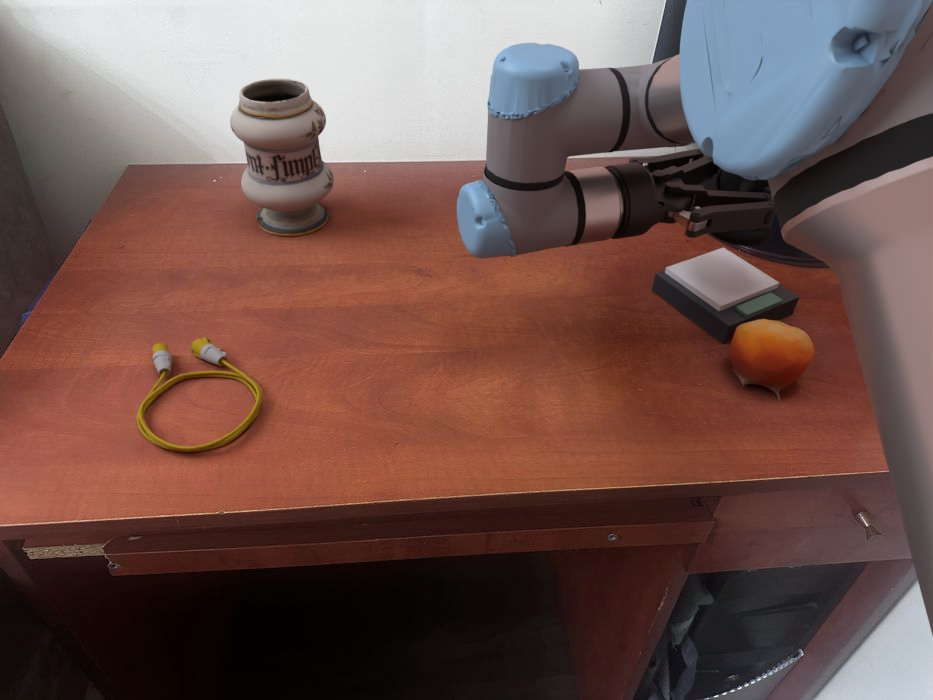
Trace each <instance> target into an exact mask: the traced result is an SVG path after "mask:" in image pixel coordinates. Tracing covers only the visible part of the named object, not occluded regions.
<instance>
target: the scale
mask: <svg viewBox="0 0 933 700" xmlns="http://www.w3.org/2000/svg"><path fill="white" fill-rule="evenodd" d="M651 291H652V292H653V293H654V294H655V295H657V296H658V297H660V298H661V299H662V300H664V301H665V302H667V303H668V304H669V305H671V306H672V307H673V308H675V309H676V310H677V311H679V313H681V314H682V315H684V316H685V317H687V318H688V319H689V320H690V321H692V322H693V323H695V324H696V325H697V326H698V327H700V328H701V329H703V330H704V331H705V332H707V333H708V334H709V335H711V336H712V337H713V338H715V339H716V340H718V342H720V343H722V344H725V343H728V342H730V341H731V342H732V339H733V336H734V334H735V331H736V328H737V327H738V326H739V325H741V324H744V323H747V322H751V321H755V320H759V319H767V320H774V321H780V320H782V319H785V318H787V317H789V316H791V315H793V314H794V313H795V309H796V307H797V305H798V302H799V300H800V297H801V296H800V295H798V294H797V293H795V292H793V291H792V290H790V289H788V288H787V287H785V286H784V285H782V284H781V283H780V282H779V281H778V280H776V279H774V278H773V277H772V276H770V275H769V274H767V273H766V272H763V271H762V270H760V268H757V267H755V266H754V265H752V264H751V263H749V262H748V261H746V260H745V259H743V258H741V257H740V256H738V255H736V254H735V253H734V252H733V251H732V252H731V251H730V250H729V249H727V248H725V247H723V246H722V247H720V248H718V249H714V250H712V251H709V252H706V253H703V254H701V255H697V256H695V257H692V258H689V259H686V260H683V261H680V262H677V263H675V264H672V265H669V266H666V267H665V269H663V270H661V271H658V272H655V275H654V279H653V281H652V286H651Z"/></svg>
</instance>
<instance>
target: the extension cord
mask: <svg viewBox="0 0 933 700" xmlns="http://www.w3.org/2000/svg"><path fill="white" fill-rule="evenodd" d="M151 349H152V363H153V365H154V368H155V369H156V371H157V374H158V375H159V378H158V380H157V382H155V384H154V386H153V387H152V389H151V390H150V391H149V393H148V395H147V396H145V399H143V400H142V402H141V404H140V406H139V409H138V410H137V414H136V424H137V428H138V430H139V432H140V433H141V435H142V436H143V437H144V439H146V440H148V441H149V442H150V443H152V444H153V445H155V446H157V447H159V448H162V449H165V450H170V451H175V452H185V453H193V452H202V451H208V450H212V449H217V448H219V447H221V446H224V445H226V444H228V443H230V442H231V441H233V440H234V439H236V438H237V437H238V436H240V435H241V434H242V433H243V432H244V431H245V430H247V428H248V427H249V426H250V425H251V424H252V423H253V422H254V421H255V419H256V418H257V416H258V415H259V414H260V411H261V404H262V402H263V397H264V396H263V390H262V388H261V386H260V385H259V384H258V382H257V381H255V380H254V379H252V378H251V377H249V376H248V375H247V374H245V372H243V371H242V370H240V369H238V368H237V367H236V366H234V365H232V364H231V363H229V362H228V357H227V353H226V352H224V351H222V348H221V347H219V348H218V347H217V346H216V345H214V344H212V342H211V339H210V338H208V336H203V337H201V338H197V339H196V338H195V340H194V341H193V342H192V343H191V346H190V351H189V352H190V353H191V354H193V356H195V357H197V358H198V359H200V360H204V361H206V362H207V363H211V364H214V365H217V366H219V367H223V366H226V367H228V368H229V369H230V370H232V371H227V370H204V371H202V370H201V371H192V372H184V373H181V374H178V375H176V376H174V377H172V378H170V379H168V380H167V381H165V382H164V383H163V384H161V383H162V382H163V381H164V378H166V377H168V376H170V375H171V373H172V371H171V370H172V364H173V359H172V354H171V351H170V350H169V346H168V344H166V343H164V342H157V343H155V344H153V346H152V348H151ZM233 371H234V372H233ZM209 377H210V378H214V377H215V378H224V379H225V378H226V379H232V380H236V381H239V382H241V383H242V384H244V385H245V386H246V387H247V388H248V389H249V390H250V392H251V393H252V394H253V396H254V399H255V403H254V405H253V407H252V409H251V411H250V412H249V414H248V415H247V416H246V417H245V419H244V420H243V421H242V422H241V423H240V424H239V425H238V426H237V427H235V428H234V429H233V430H231V431H230V432H228V433H227V434H226V435H223V436H222V437H220V438H217V439H215V440H213V441H210V442H207V443H203V444H199V445H190V446H189V445H181V444H174V443H172V442H169V441H167V440H164V439H162V438H160V437H158V436H157V435H155V433H153V432H152V430H150V428H149V427H148V426H149V425H148V424H147V422H146V420H145V418H144V415H145V412H146V410H147V409H148V408H149V406H150V405H151V404H152V402H153V401H155V400H156V399H158V397H159V396H160V395H161V394H162V393H164V392H165V391H167V390H168V389H169V388H171V387H172V386H173V385H175V384H177V383H178V382H181V381H184V380H188V379H195V378H209ZM160 384H161V385H160Z"/></svg>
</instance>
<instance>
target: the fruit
mask: <svg viewBox="0 0 933 700" xmlns="http://www.w3.org/2000/svg"><path fill="white" fill-rule="evenodd" d="M814 358H815V346H814V342H812V339H811V337H810V336H809V335H808V334H807V333H806V332H805V331H804V330H802V329H801V328H799V327H797V326H791V325H789V324H786V322H785V323H784V322H782V321H780V320H777V321H774V320H767V319H759V320H755V321H751V322H747V323H744V324H741V325H739V326H738V327H737V328H736V331H735V334H734V336H733V339H732V340H731V344H730V359H731V366H732V371H733V373H734V374H735V375H736V376H737V378H738V379H739V381H740V383H741V386H742V387H744V386H747V385H759V386H763V387H765V388H767V389H769V390H770V391H772V392H773V393H775V394H776V396H777V398H778V401H780V391H781V390H783V389H787V388H788V387H789V386H790V385H792V384H794V383H795V382H797V380H799V378H800V377H801V376H802V375H803V374H804V373H805V371H806V370H807V369H808V367H809V366H810V365H811V363H812V362H813V359H814Z"/></svg>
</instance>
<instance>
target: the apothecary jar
mask: <svg viewBox="0 0 933 700" xmlns="http://www.w3.org/2000/svg"><path fill="white" fill-rule="evenodd" d="M238 94H239V96H238V97H239V102H238V105H237V106H236V107H234V109H233V111H232V112H231V115H230V118H229V123H230V129H231V131H232V133H233V134H234V135H235V136H236V138H237V139H239V140H240V141H241V142H243V146H244V151H245V157H246V164H247V167H246V168H245V169H244V172H243V173H242V176H241V181H240V186H241V190H242V192H243V194H244V196H245V198H247V199H248V200H249V201H250V202H251V203H253V204H255V205H256V206H258V207H260V209H259V210H258V211H257V213H256V216H255V222H257V223H258V224H259V228H260V230H262V231H264V232H265V233H267V234H270V235H274V236H280V237H299V236H303V235H308V234H311V233H314V232H316V231H318V230H320V229H321V228H322V227H324V226H325V225H326V224H327V223H328V220H329V215H330V214H329V211H328V210H327V208H326V207H325V205H323V204H321V203H320V202H321V201H323V200H324V199H325V198H326V197H327V196H328V195H329V194H330V192H331V191H332V189H333V187H334V174H333V172H332V169H331V167H329V165H328V164H327V163H326V162H325V161H324V160H323V159H322V154H321V146H320V139H319V136H320V135H321V134H322V133H323V131H324V130H325V127H326V124H327V117H326V113H325V111H324V109H323V107H322V106H321V105H320V104H318V102H316V101H315V100H313V99H312V97H311V93H310V90H309V86H308V85H307V84H306V83H304V82H302V81H300V80H296V79H293V78H292V79H290V78H266V79H260V80H255V81H253V82H250V83H248V84H246V85H244V86H243V87H242V88H241V89H240V90H239V93H238Z"/></svg>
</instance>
